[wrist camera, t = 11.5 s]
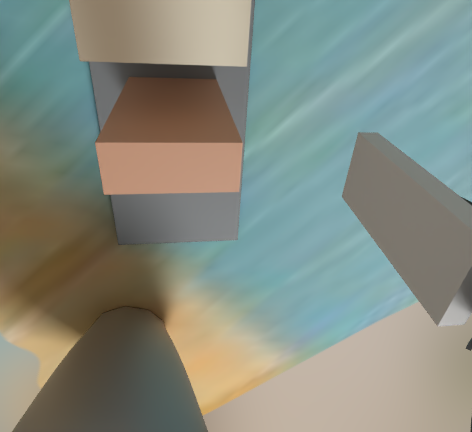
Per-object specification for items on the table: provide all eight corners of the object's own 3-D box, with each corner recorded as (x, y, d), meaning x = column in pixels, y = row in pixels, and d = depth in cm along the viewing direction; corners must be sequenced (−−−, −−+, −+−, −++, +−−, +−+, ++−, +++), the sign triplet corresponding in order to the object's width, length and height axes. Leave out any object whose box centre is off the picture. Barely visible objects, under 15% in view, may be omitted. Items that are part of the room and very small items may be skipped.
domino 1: (217, -12, 18) (252, -9, 10) (216, 31, 19) (246, 67, 11) (118, -19, 17) (65, -21, 9) (122, 26, 19) (79, 61, 10)
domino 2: (216, 79, 21) (242, 142, 12) (215, 113, 22) (239, 192, 14) (128, 76, 20) (95, 142, 12) (132, 111, 21) (104, 194, 13)
